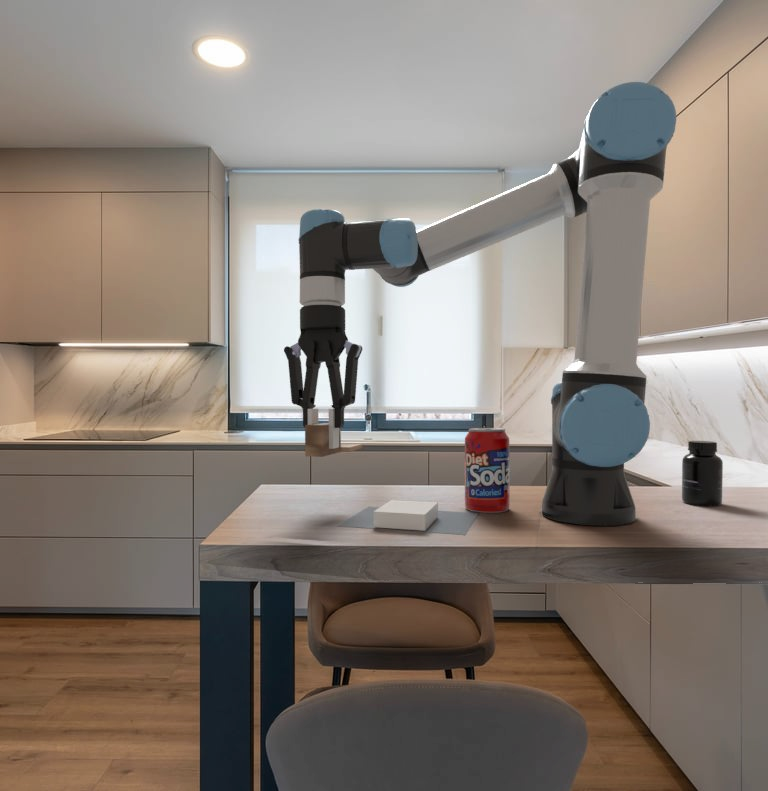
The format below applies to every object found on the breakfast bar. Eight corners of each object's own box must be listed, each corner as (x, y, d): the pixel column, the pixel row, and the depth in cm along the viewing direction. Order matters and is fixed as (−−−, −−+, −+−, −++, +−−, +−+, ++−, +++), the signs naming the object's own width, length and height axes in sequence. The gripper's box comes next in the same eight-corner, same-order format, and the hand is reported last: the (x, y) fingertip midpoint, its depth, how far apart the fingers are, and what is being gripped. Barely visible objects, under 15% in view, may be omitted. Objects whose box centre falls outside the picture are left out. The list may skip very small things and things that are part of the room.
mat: (478, 516, 97) (478, 512, 97) (465, 538, 82) (465, 534, 82) (368, 509, 103) (368, 506, 103) (336, 529, 87) (336, 525, 87)
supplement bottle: (680, 504, 107) (680, 441, 107) (683, 499, 113) (683, 439, 113) (722, 508, 104) (722, 443, 104) (723, 502, 110) (722, 440, 110)
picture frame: (437, 502, 93) (425, 514, 83) (437, 517, 93) (425, 531, 83) (391, 499, 95) (373, 511, 86) (391, 514, 95) (373, 528, 86)
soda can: (496, 506, 105) (496, 427, 105) (517, 515, 98) (517, 429, 98) (457, 509, 103) (457, 427, 103) (476, 518, 96) (476, 430, 96)
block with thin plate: (363, 448, 103) (362, 421, 104) (331, 456, 89) (331, 425, 89) (332, 448, 105) (332, 421, 105) (296, 456, 90) (296, 425, 90)
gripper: (375, 307, 95) (376, 446, 95) (288, 312, 99) (289, 445, 99) (361, 300, 88) (362, 450, 87) (268, 305, 92) (269, 448, 92)
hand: (323, 447), depth 93 cm, fingers closed on block with thin plate, 3 cm apart
